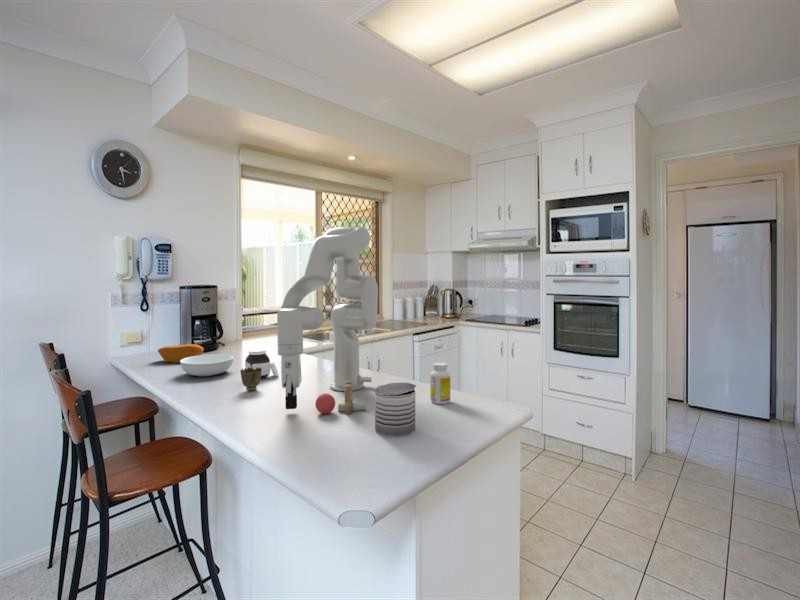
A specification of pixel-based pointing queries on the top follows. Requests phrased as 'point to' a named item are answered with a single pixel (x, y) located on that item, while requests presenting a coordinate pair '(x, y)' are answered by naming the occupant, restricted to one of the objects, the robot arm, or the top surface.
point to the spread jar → (260, 362)
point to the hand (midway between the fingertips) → (291, 408)
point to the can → (395, 409)
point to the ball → (325, 403)
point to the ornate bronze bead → (251, 378)
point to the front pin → (355, 406)
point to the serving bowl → (206, 364)
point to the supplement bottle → (440, 384)
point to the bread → (180, 352)
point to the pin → (348, 399)
